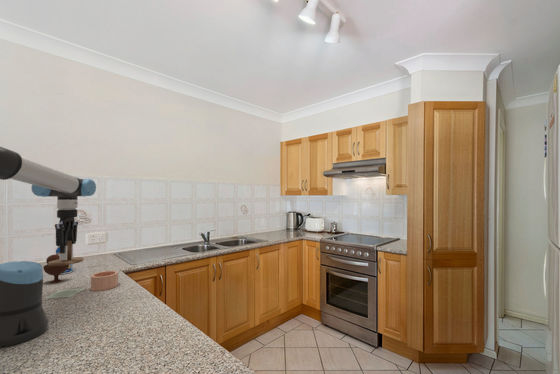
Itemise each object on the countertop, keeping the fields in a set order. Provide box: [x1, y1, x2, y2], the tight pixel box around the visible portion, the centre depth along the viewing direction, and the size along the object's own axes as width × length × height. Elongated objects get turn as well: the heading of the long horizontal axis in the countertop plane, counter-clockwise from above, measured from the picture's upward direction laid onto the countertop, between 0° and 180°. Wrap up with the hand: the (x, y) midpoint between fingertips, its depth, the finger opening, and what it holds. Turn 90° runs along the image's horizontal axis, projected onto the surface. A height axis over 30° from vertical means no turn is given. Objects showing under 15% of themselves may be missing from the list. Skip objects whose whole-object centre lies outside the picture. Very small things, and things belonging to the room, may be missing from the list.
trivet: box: [43, 288, 86, 300], centre depth 122 cm, size 11×11×1 cm
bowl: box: [90, 270, 119, 292], centre depth 130 cm, size 11×11×7 cm
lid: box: [48, 241, 84, 266], centre depth 123 cm, size 13×13×10 cm
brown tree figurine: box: [42, 254, 69, 284], centre depth 140 cm, size 11×11×15 cm
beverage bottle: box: [55, 246, 74, 275], centre depth 158 cm, size 8×8×20 cm
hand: (66, 258), depth 123 cm, fingers closed on lid, 4 cm apart
